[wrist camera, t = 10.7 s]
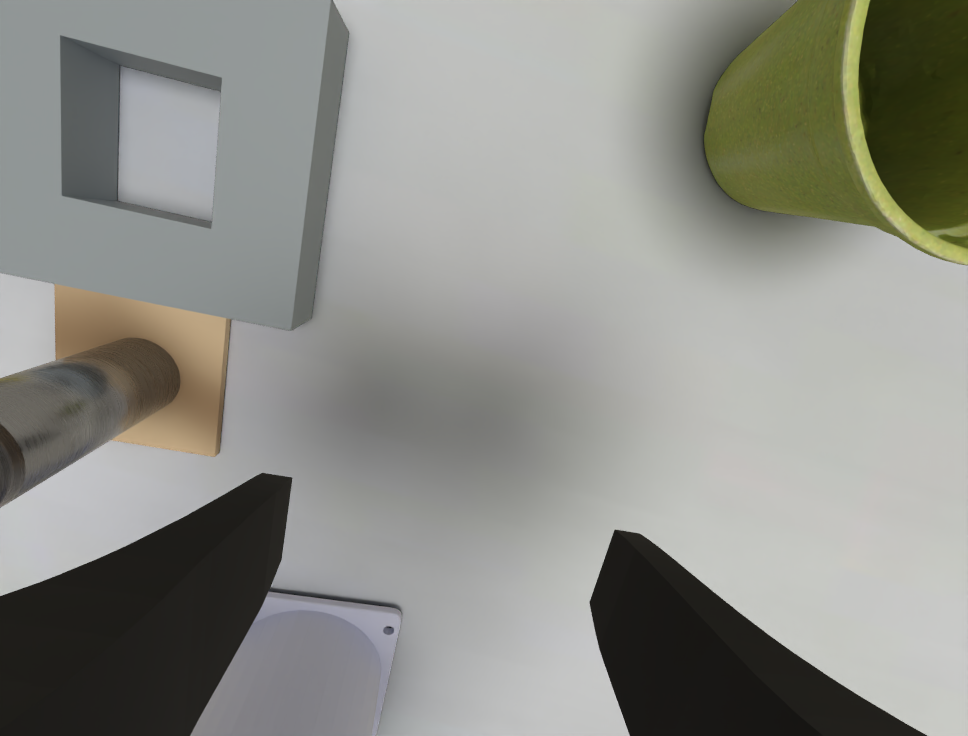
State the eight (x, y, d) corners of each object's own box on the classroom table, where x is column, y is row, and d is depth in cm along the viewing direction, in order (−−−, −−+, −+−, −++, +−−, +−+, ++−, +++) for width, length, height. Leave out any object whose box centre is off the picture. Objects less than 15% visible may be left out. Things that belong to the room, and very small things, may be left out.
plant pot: (827, -92, 16) (1240, -448, 8) (941, 139, 18) (1351, 62, 10) (609, 108, 17) (759, -9, 9) (743, 300, 20) (959, 350, 11)
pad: (219, 452, 20) (214, 456, 19) (64, 426, 19) (56, 431, 19) (231, 314, 18) (226, 316, 18) (63, 280, 17) (54, 281, 17)
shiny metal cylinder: (185, 411, 19) (1, 536, 11) (105, 410, 18) (-138, 536, 11) (174, 338, 18) (-31, 418, 10) (91, 336, 18) (-183, 416, 10)
